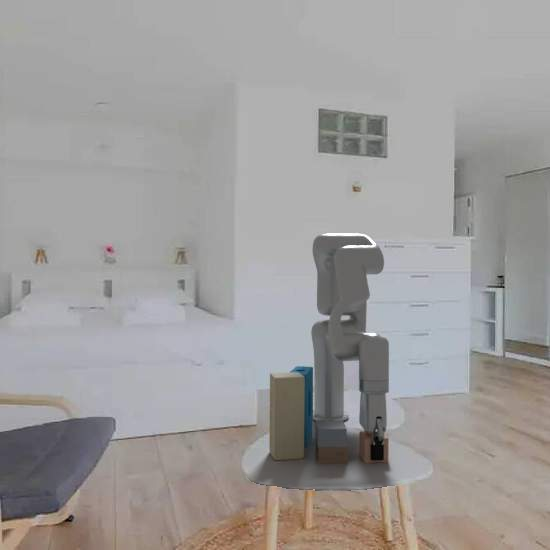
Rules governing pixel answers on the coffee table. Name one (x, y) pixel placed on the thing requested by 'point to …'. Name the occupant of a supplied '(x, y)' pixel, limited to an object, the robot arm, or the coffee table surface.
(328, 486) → the coffee table surface
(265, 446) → the coffee table surface
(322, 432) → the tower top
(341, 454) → the tower bottom
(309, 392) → the block
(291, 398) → the cream box
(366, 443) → the terracotta cube
